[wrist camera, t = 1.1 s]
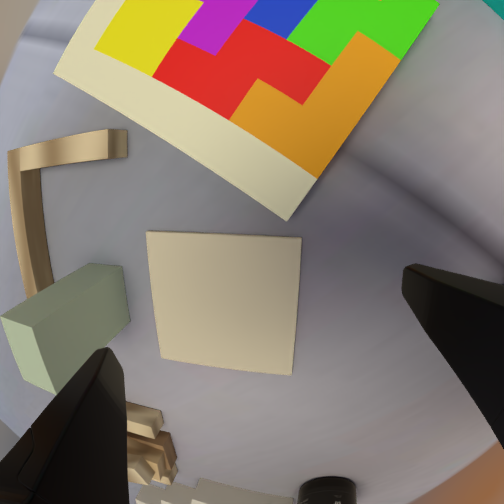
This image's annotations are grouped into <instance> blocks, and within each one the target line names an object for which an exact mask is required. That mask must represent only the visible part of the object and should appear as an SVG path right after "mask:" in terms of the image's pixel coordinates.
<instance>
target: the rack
mask: <svg viewBox="0 0 504 504" xmlns="http://www.w3.org/2000/svg"><path fill="white" fill-rule="evenodd" d="M124 157H127V130H114V129H105V130H99V131H93V132H88V133H83V134H77V135H72V136H68V137H63V138H58V139H54V140H49V141H45V142H41V143H37V144H33V145H29V146H25V147H21V148H18V149H14V150H10V151H8V179H9V193H10V204H11V214H12V222H13V229H14V236H15V243H16V249H17V254H18V260H19V265H20V270H21V274H22V279H23V283H24V288H25V292H26V296H27V299H28V298H30V297H32V296H33V295H35V294H37V293H38V292H40V291H42V290H43V289H45V288H47V287H48V286H50V285H52V284H54V280H53V275H52V270H51V265H50V259H49V253H48V247H47V240H46V233H45V225H44V217H43V207H42V196H41V182H40V168H44V167H51V166H57V165H64V164H71V163H79V162H86V161H95V160H104V159H113V158H124ZM126 410H127V431H129V432H132V433H135V434H139V435H142V436H145V437H149V438H152V439H155V438H156V436H157V435H158V433H159V431H160V429H161V427H162V426H163V424H164V422H163V418H162V414H161V411H160V410H156V409H152V408H148V407H144V406H140V405H137V404H133V403H130V402H126ZM177 472H178V471H177V467H176V464H175V463H174V466H173V468H172V470H168V469H166V470H165V472H164V474H163V476H162V478H161V481H159V480H156V479H153V478H152V480H154V481H157V482H161V483H164V484H168V485H172V483H173V481H174V478H175V476H176V474H177Z"/></svg>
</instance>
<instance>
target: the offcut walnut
mask: <svg viewBox="0 0 504 504" xmlns="http://www.w3.org/2000/svg"><path fill="white" fill-rule="evenodd" d="M127 438H130V439H132V440H135V441H138V442H140V443H143V444H146V445H148V446H151V447H154V448H157V449H160V450H163V451H164V456H165V464H166V469H168V470H172V468H173V466H174V463H175V461H176V459H177V456H176V452H175V449H174V446H173V442H172V439H171V436H170V433H169V432H164V431H159V433H158V435H157V436H156V438H155V439H152V438H149V437H145V436H142V435H139V434H135V433H132V432H129V431H127Z"/></svg>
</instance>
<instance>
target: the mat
mask: <svg viewBox="0 0 504 504" xmlns="http://www.w3.org/2000/svg"><path fill="white" fill-rule="evenodd" d="M146 239H147V251H148V262H149V271H150V281H151V289H152V298H153V305H154V313H155V320H156V327H157V334H158V340H159V346H160V352H161V358H164V359H170V360H175V361H181V362H187V363H193V364H199V365H205V366H212V367H219V368H227V369H234V370H242V371H251V372H260V373H271V374H282V375H292V366H293V355H294V344H295V332H296V320H297V307H298V293H299V278H300V261H301V243H302V238H301V237H283V236H264V235H243V234H222V233H199V232H174V231H147V232H146Z"/></svg>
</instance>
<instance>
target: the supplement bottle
mask: <svg viewBox="0 0 504 504" xmlns="http://www.w3.org/2000/svg"><path fill="white" fill-rule="evenodd" d="M297 504H357V499H356V487H355V485H354V484H353V483H352V482H351V481H349V480H347V479H344V478H339V477H324V478H318V479H314V480H311V481H309V482H307V483H305V484H304V485H303V486H302V487H301V488H300V490H299V495H298V503H297Z"/></svg>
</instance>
